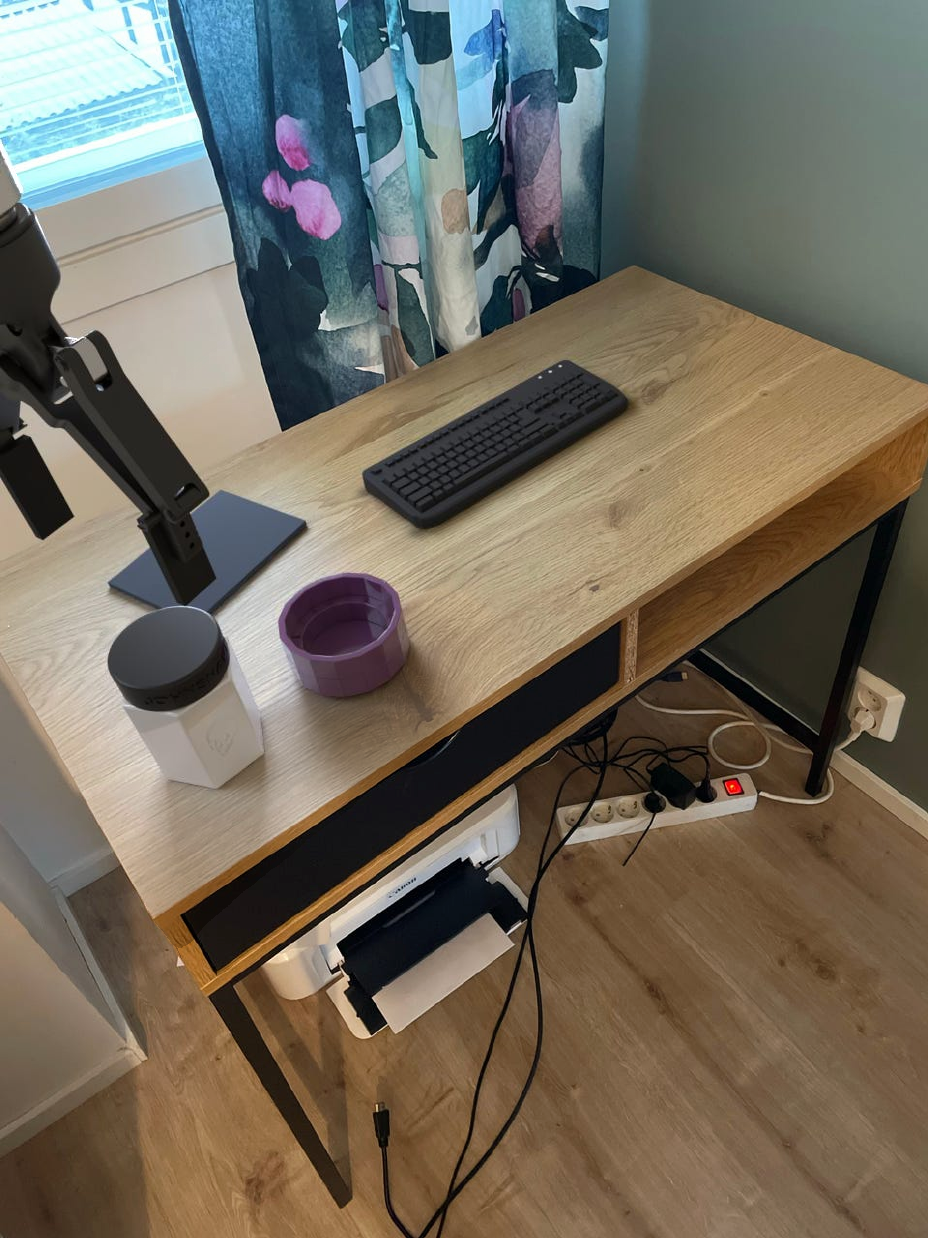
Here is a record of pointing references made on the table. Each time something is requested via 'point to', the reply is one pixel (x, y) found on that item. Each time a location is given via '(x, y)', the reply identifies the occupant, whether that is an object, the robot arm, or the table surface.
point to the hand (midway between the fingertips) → (122, 557)
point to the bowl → (344, 634)
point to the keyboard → (493, 444)
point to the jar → (187, 695)
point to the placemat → (216, 551)
